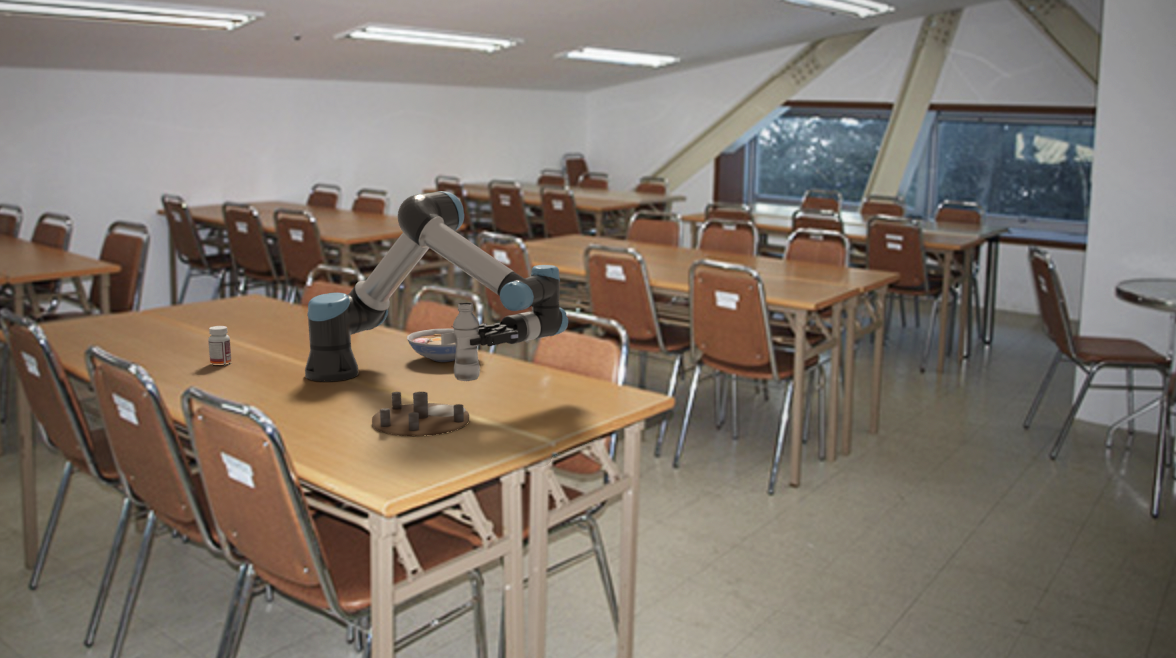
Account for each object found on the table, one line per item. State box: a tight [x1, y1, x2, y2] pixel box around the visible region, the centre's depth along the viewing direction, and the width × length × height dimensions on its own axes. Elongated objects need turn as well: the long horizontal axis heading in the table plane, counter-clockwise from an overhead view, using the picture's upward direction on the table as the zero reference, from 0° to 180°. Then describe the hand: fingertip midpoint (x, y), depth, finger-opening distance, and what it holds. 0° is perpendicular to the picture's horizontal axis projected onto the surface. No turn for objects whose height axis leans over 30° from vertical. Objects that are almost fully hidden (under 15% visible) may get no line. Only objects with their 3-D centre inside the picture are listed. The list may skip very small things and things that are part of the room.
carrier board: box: [371, 391, 470, 437], centre depth 255 cm, size 24×24×7 cm
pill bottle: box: [207, 325, 232, 364], centre depth 310 cm, size 6×6×11 cm
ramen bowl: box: [406, 325, 456, 363], centre depth 317 cm, size 25×23×8 cm
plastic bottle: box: [452, 302, 481, 382], centre depth 260 cm, size 6×7×20 cm
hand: (450, 341), depth 256 cm, fingers closed on plastic bottle, 6 cm apart
